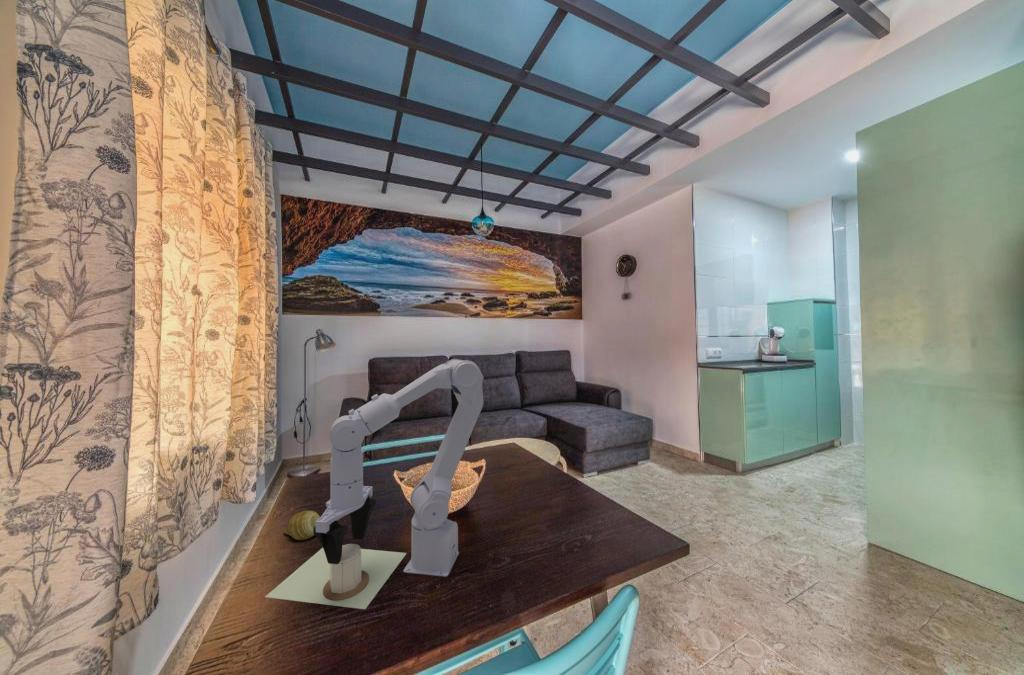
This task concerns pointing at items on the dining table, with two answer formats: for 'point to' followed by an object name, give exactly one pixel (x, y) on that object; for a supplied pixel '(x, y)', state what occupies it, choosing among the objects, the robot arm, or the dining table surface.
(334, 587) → the cup
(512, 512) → the dining table surface
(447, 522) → the robot arm
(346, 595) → the coaster
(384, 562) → the placemat
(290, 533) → the seashell
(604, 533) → the dining table surface
